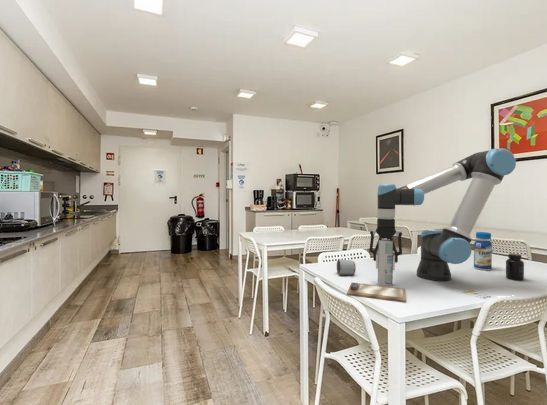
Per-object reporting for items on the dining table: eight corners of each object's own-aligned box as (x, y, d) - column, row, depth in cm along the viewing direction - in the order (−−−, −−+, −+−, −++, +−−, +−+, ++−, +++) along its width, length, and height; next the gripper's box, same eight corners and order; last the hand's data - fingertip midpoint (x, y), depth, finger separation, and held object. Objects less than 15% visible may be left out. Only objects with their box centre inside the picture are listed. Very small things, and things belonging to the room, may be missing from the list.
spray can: (387, 287, 129) (388, 241, 129) (374, 283, 135) (375, 239, 134) (395, 284, 133) (396, 240, 133) (382, 280, 139) (383, 238, 138)
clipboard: (404, 290, 125) (404, 285, 125) (406, 302, 111) (406, 296, 111) (351, 284, 133) (351, 279, 133) (346, 294, 119) (346, 289, 119)
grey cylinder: (356, 276, 146) (356, 260, 146) (340, 276, 146) (340, 261, 145) (349, 271, 157) (349, 256, 157) (334, 271, 156) (334, 256, 156)
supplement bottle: (519, 277, 145) (520, 253, 144) (526, 281, 138) (527, 256, 138) (503, 276, 147) (503, 252, 147) (509, 280, 141) (509, 255, 140)
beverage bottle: (485, 267, 166) (486, 231, 165) (495, 271, 157) (496, 233, 157) (470, 266, 166) (470, 231, 166) (478, 270, 158) (479, 233, 157)
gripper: (409, 218, 133) (408, 269, 134) (364, 216, 140) (363, 264, 141) (410, 219, 126) (409, 273, 127) (362, 218, 133) (362, 268, 134)
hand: (385, 268), depth 134 cm, fingers closed on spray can, 6 cm apart
